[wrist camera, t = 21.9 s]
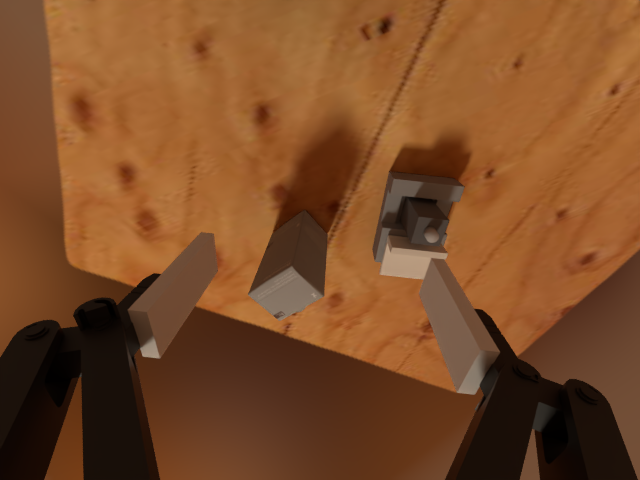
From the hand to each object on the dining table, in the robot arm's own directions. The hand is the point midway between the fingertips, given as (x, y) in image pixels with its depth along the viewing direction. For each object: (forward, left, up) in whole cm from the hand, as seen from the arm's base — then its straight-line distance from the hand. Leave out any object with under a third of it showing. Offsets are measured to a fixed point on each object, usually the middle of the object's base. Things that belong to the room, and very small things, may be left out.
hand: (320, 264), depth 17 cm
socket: (+8, +14, -29) cm, 33 cm away
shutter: (+13, +14, -24) cm, 31 cm away
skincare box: (+14, -4, -29) cm, 32 cm away
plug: (+6, +14, -28) cm, 32 cm away
